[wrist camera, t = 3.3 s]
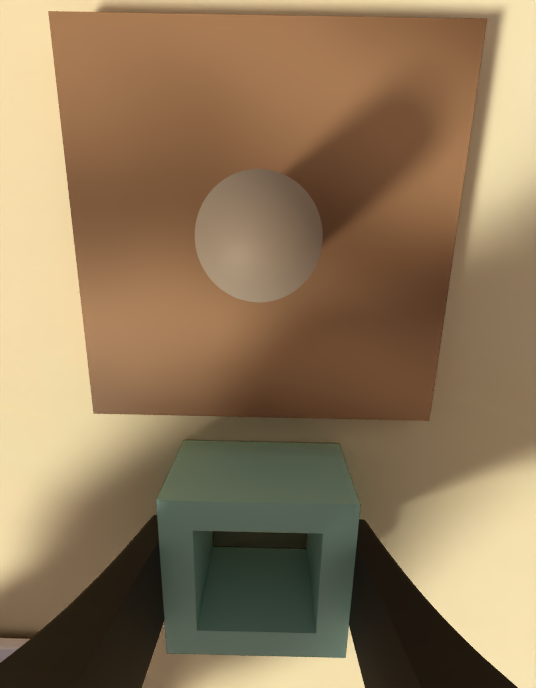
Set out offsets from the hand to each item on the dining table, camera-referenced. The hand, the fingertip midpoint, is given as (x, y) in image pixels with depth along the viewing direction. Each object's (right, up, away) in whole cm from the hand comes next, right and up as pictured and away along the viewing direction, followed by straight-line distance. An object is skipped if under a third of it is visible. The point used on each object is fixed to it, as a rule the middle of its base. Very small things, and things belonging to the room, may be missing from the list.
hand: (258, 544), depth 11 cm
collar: (0, 0, +2) cm, 2 cm away
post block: (0, +9, -1) cm, 9 cm away
